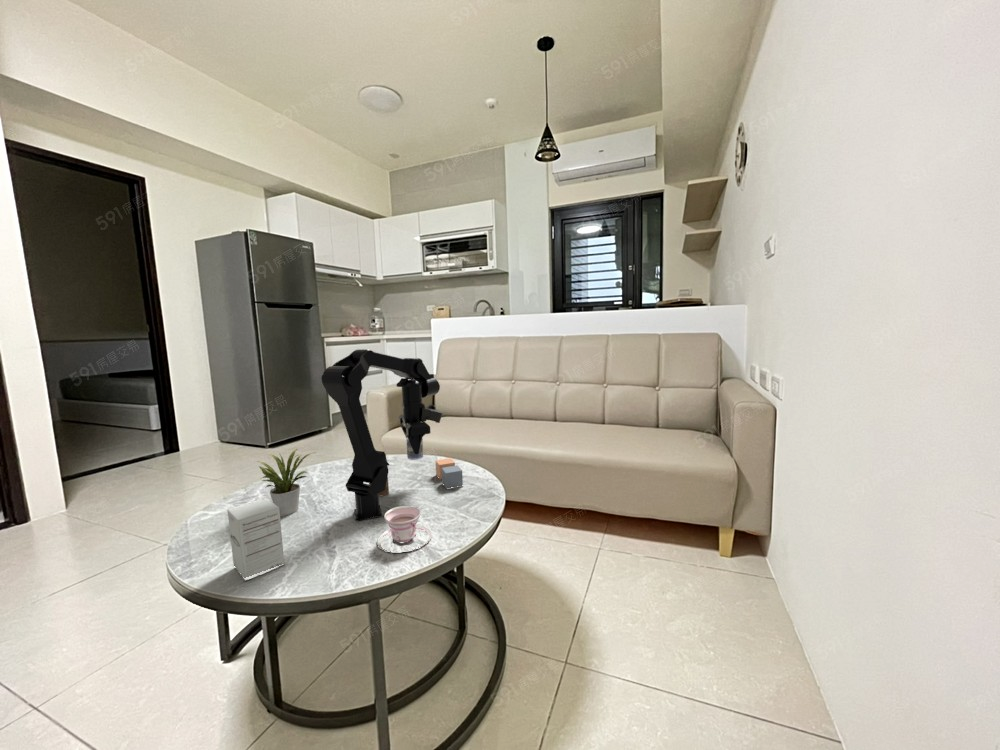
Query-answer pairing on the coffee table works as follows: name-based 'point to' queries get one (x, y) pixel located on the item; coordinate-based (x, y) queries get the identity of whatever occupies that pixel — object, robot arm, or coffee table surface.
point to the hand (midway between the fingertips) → (415, 451)
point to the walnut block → (384, 490)
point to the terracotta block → (443, 465)
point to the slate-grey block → (452, 476)
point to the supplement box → (256, 537)
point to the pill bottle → (410, 452)
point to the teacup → (403, 524)
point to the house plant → (284, 484)
